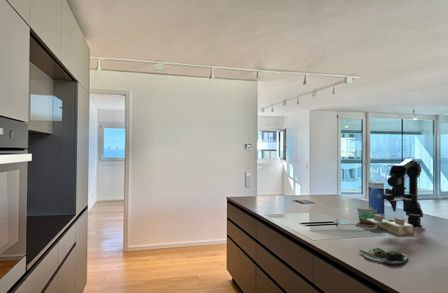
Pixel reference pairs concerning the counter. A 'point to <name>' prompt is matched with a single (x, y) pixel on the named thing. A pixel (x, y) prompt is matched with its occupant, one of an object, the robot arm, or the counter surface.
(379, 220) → the cover
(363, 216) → the food container
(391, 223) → the lid
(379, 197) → the string lights box
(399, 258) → the salad plate
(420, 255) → the counter surface
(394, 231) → the box
